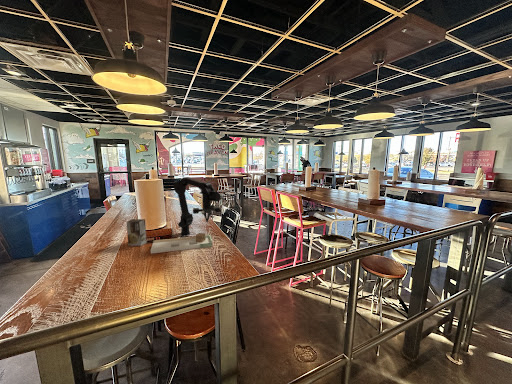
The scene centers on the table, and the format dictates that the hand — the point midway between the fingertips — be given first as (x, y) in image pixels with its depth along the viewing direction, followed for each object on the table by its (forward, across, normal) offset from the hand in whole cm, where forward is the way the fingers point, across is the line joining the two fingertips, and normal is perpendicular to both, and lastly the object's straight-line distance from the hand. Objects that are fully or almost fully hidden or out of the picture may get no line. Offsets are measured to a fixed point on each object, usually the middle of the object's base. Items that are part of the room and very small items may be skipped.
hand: (207, 221), depth 148 cm
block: (+10, -5, -10) cm, 15 cm away
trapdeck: (+12, -16, -10) cm, 23 cm away
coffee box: (+12, -45, +3) cm, 47 cm away
